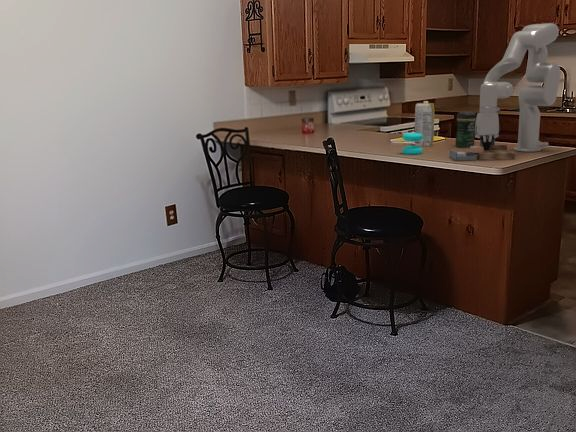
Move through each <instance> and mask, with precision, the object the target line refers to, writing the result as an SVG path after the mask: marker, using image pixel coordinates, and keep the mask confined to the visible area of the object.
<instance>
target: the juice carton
mask: <svg viewBox="0 0 576 432" xmlns="http://www.w3.org/2000/svg"><path fill="white" fill-rule="evenodd" d="M414 110H415V112H414V133H420V134H422V135H423V138H422V139H421V140H420V141H414V146H419V147H430V146H433V144H434V138H435V137H434V136H435V103H431V102H430V103H429V101H428V100H423V102H418V103H416V104H415V109H414Z"/></svg>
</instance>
